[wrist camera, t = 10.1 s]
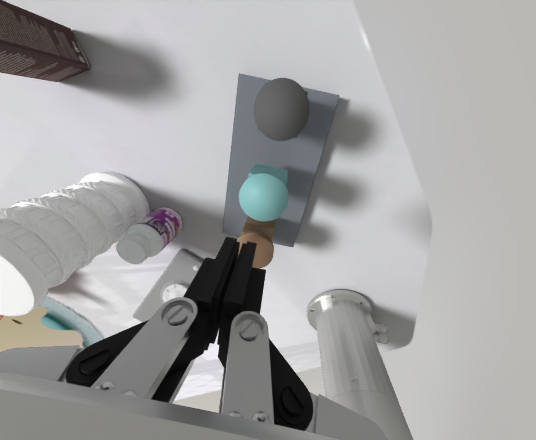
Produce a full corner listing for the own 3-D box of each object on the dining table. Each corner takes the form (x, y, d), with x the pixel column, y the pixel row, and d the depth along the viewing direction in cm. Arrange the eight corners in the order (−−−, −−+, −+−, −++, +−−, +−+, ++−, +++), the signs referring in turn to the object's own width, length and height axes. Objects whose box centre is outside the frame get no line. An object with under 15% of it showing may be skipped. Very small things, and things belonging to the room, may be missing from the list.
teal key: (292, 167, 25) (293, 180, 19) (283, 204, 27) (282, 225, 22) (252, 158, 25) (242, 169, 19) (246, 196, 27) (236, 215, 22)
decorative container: (163, 214, 35) (60, 295, 19) (123, 242, 39) (9, 330, 23) (109, 156, 32) (-76, 197, 16) (70, 194, 35) (-111, 258, 19)
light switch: (219, 275, 38) (172, 341, 37) (220, 266, 44) (179, 323, 43) (178, 250, 36) (129, 319, 36) (185, 244, 42) (142, 303, 41)
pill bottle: (189, 228, 36) (158, 263, 28) (165, 237, 37) (129, 272, 29) (171, 201, 34) (132, 230, 25) (147, 212, 35) (102, 242, 27)
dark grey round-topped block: (310, 92, 23) (316, 84, 17) (298, 139, 25) (301, 146, 20) (265, 82, 23) (258, 72, 17) (258, 131, 25) (249, 135, 19)
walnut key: (279, 218, 30) (276, 240, 25) (272, 246, 32) (268, 272, 27) (245, 211, 30) (236, 232, 25) (241, 239, 32) (231, 264, 27)
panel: (336, 96, 25) (350, 90, 20) (292, 242, 35) (293, 266, 30) (241, 75, 25) (227, 64, 20) (225, 227, 35) (212, 248, 30)
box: (70, 25, 25) (-99, -46, 14) (92, 69, 26) (-41, 37, 16) (32, 42, 26) (-151, -11, 15) (56, 83, 28) (-91, 62, 17)
